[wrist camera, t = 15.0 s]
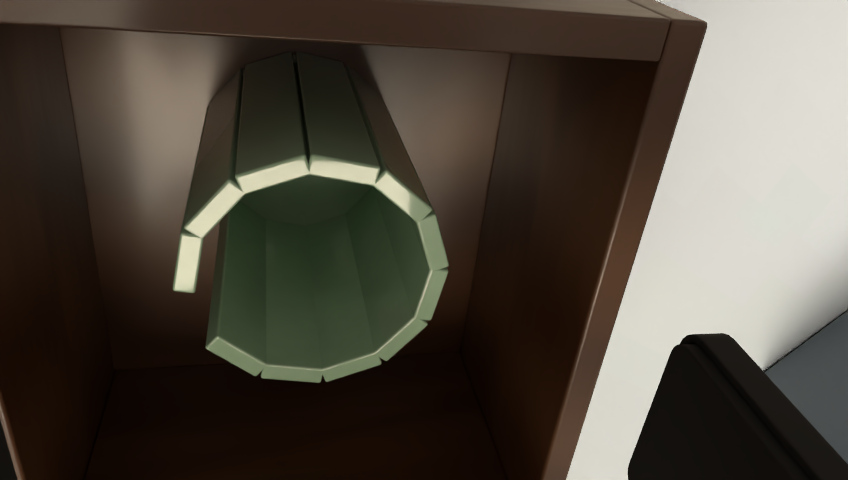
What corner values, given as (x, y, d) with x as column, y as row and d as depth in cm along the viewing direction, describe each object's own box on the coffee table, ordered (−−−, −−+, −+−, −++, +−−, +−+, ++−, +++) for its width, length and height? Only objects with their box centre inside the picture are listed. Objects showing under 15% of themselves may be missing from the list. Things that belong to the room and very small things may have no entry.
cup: (290, 10, 16) (304, 99, 11) (428, 139, 19) (496, 265, 13) (162, 153, 17) (115, 299, 12) (308, 257, 20) (325, 417, 14)
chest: (13, -97, 14) (-187, -44, 8) (544, -47, 17) (711, 22, 11) (97, 372, 21) (24, 607, 15) (471, 353, 24) (547, 543, 17)
